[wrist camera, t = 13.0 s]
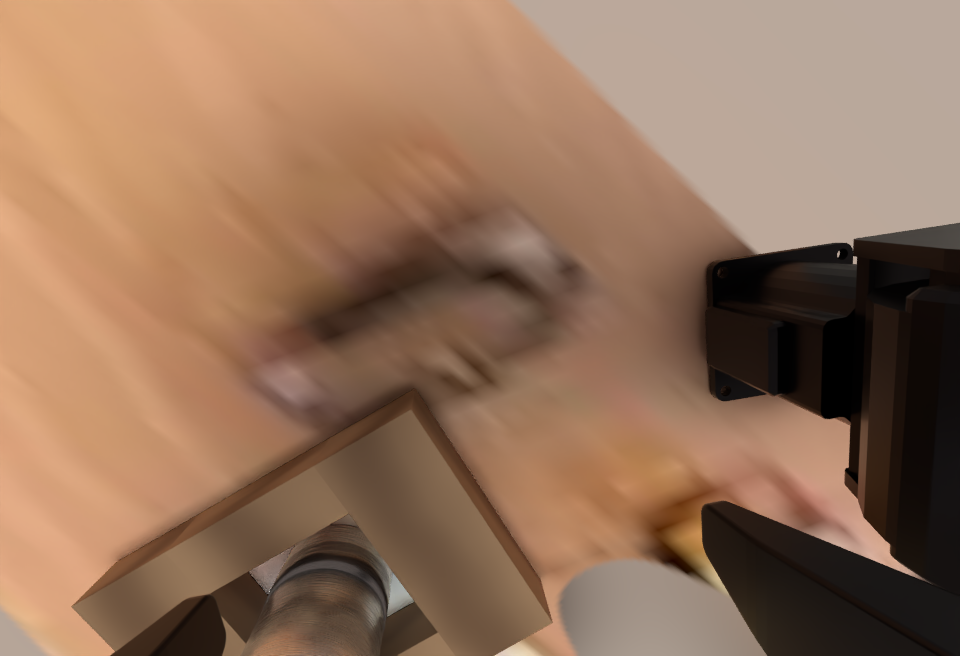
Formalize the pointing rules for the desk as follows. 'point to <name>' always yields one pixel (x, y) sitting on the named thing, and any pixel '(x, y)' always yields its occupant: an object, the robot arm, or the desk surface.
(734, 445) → the desk surface
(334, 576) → the chrome banded cylinder
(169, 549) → the brown picture frame
